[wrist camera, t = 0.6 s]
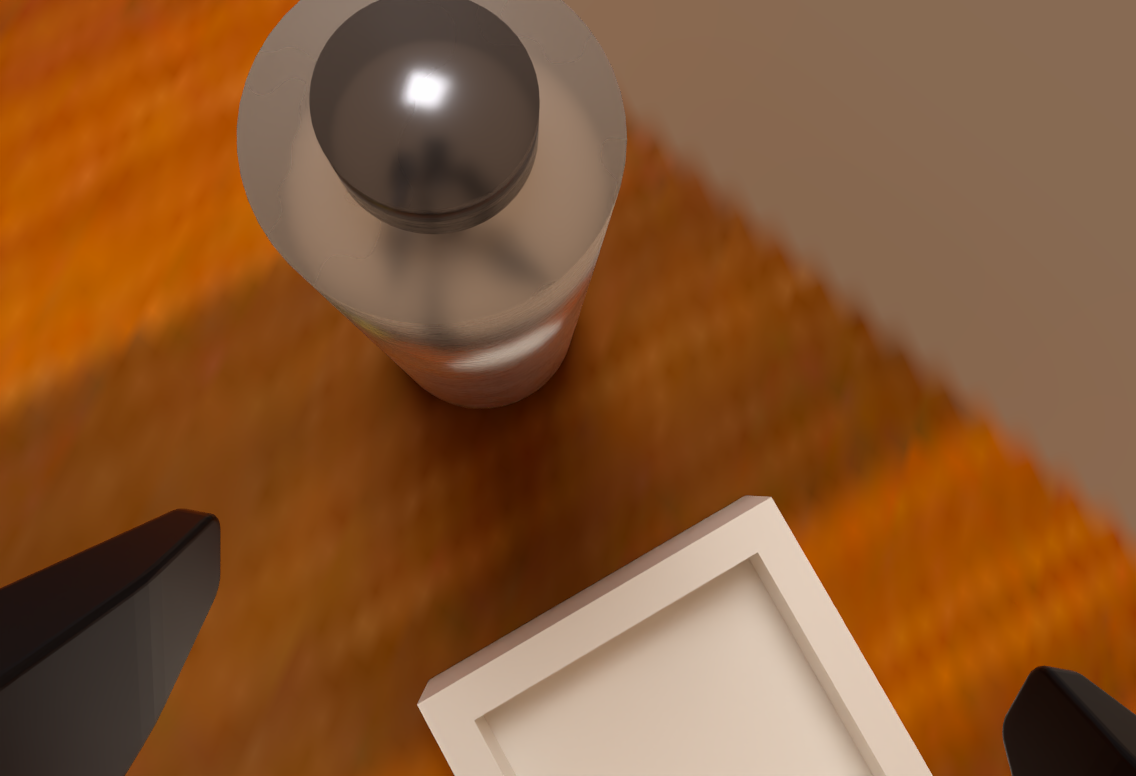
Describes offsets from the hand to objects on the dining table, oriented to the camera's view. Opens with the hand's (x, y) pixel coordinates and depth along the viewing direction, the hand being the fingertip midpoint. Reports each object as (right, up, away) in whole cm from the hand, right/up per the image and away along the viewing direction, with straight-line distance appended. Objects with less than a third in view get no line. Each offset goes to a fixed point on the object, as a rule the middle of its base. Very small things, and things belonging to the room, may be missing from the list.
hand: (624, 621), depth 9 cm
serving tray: (+2, -7, +13) cm, 15 cm away
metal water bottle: (-3, +5, +14) cm, 16 cm away
